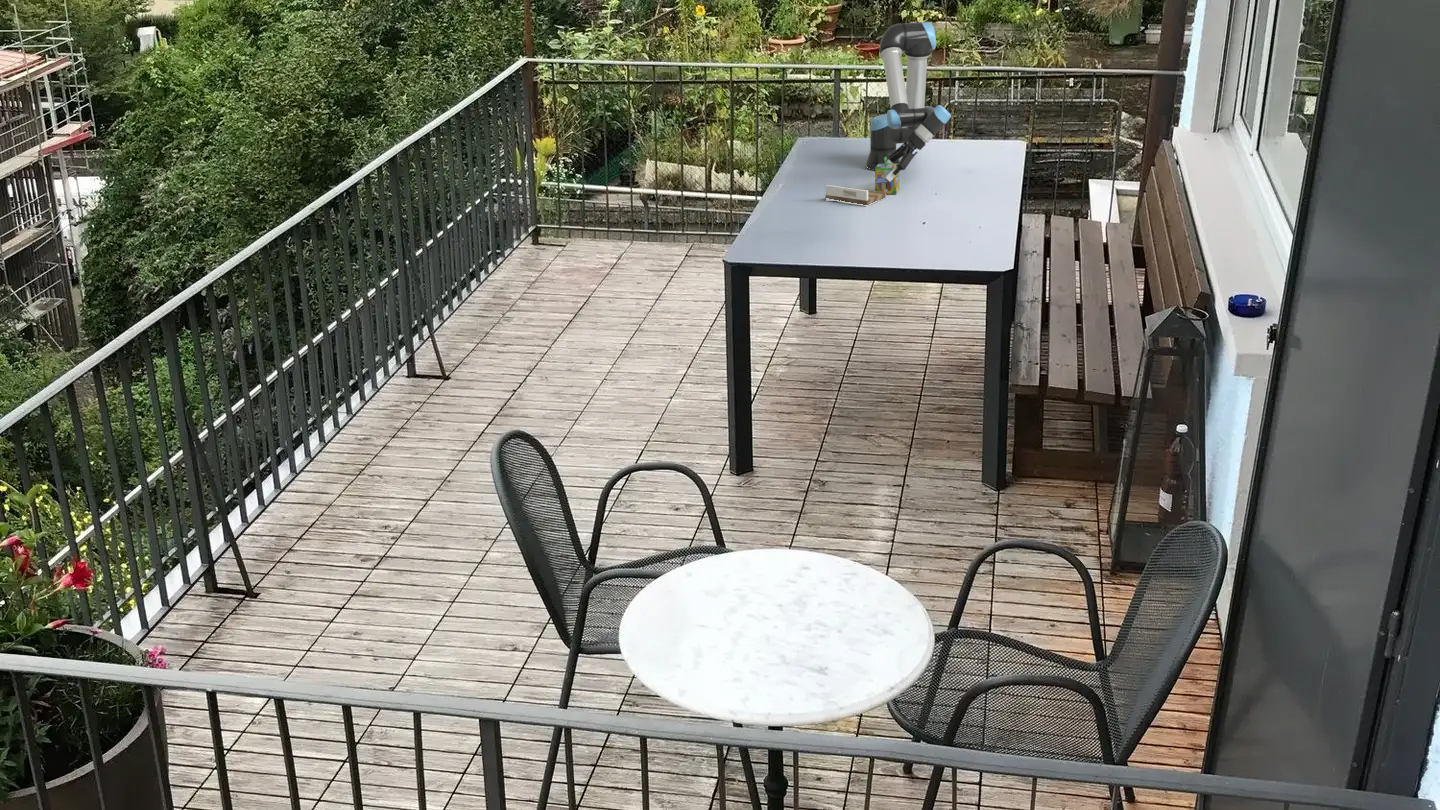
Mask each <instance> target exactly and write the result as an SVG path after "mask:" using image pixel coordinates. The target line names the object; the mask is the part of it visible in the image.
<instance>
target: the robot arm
mask: <svg viewBox="0 0 1440 810" xmlns="http://www.w3.org/2000/svg"><path fill="white" fill-rule="evenodd" d="M936 47H937V38H936V32H935V28H934V25H933V24H932V23H931V22H927V21H926V22H923V21H919V22H905V23H901V22H900V23H896V24H892V25H891V26H890V27H888V28H887V29H886V30H885V32H884V33H883V34H882V37H881V39H880V42H879V57H880V58H881V59H882V60H883V67H884V73H885V80H886V86H887V92H888V93H887V94H888V98H889V100H888V101H889V105H890V109H889V110H887V112H886V113H883V114H880V115H877V116H874V117H873V118H872V119H871V120H870V127H869V131H870V132H869V133H870V136H869V137H870V144H869V145H870V148H869V149H870V150H869V153H868V157H867V160H866V165H865V166H867V167H868V168H870V169H874V170H873V171H875V167H876V166H877V165H878V163H885V161H884V158H885V156H886V158H887V161H888V163H897V165H896V166H895V168H894V169H893V170H892V171H891V172H890V173H889V174H888V175H887V176H886V177H885V178H886V179H887V180H888V181H890V182H891V181H892V179H893V178H894V177H895V176H896V175H897V174H898V173H899V174H900V172H901V171H905V170H906V168H907V167H908V166H909V164H910V163H911V162H912V160H913V158H915V156H916V155H917V154H918V151H917V150H919V151H921V150H922V149H923V148H924V147H925V146H926V143H929V141H930V140H933V137H935V135H937V133H938V132H939V131H940V130H941V129H942V128H943V126H945V125H946V124H947V123H948V122H949V121H950V119H951V118H952V114H951V113H950V112H949V111H948V110H947V109H946V108H945V107H944V106H942V105H941V104H938V105H937V106H935V107H933V106H930V105H927V106H925V102H926V88H927V87H926V86H927V83H926V82H927V69H928V68H927V67H928V58H929V57H930V56H931V55H932V51H933V50H935V49H936ZM903 54H904V56H905V57H906V58H907V63H906V79H905V76H904V69H903V62H902V55H903ZM905 81H906V82H905ZM897 144H901V145H900V146H899V147H898V148H897ZM886 163H887V162H886ZM867 167H866V168H867ZM868 168H867V169H868ZM870 169H869V170H870Z"/></svg>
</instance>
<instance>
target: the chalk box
mask: <svg viewBox="0 0 1440 810" xmlns="http://www.w3.org/2000/svg"><path fill="white" fill-rule="evenodd" d="M884 161H885V163H878V165H877V166H876V167H875V170H874V180H875V181H874V183H875V184H874V188H875V189H874V191H879V192H885V195H897V194H898V192H899V191H900V172H899V173H898V174H897V175H896V176H895V177H894V178H893V179H892V181H891V182H890V181H888V180H887V179H886V178H885V177H886V176H887V175H888V174H889V173H890V172H891V171H892V170H893V169H894V168H895V166H896V165H897V163H888V161H887V158H886V156H885V158H884ZM886 162H887V163H886Z"/></svg>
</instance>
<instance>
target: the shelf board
mask: <svg viewBox="0 0 1440 810" xmlns="http://www.w3.org/2000/svg"><path fill="white" fill-rule="evenodd" d="M824 191H825V199H826V198H829V199H834V200H839V201H840V200H841V201H845V202H851V203H857V204H863V205H869V204H871V203H873V202H875V201H878V200H880V201H882V200H881V199H883V198H885V199H886V194H885V192H879V191H875V190H872V189H871V190H870V189H863V188H857V187H856V188H855V187H849V186H848V187H847V186H839V185H831V184H826V185H825V190H824ZM883 200H884V199H883ZM878 202H879V201H878ZM871 205H872V204H871ZM869 206H870V205H869Z"/></svg>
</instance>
